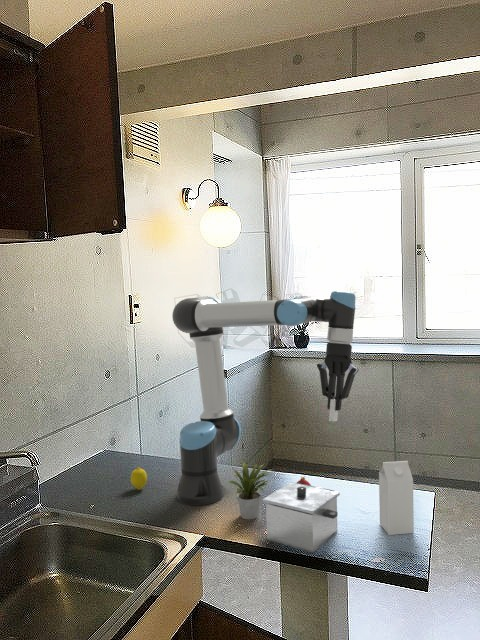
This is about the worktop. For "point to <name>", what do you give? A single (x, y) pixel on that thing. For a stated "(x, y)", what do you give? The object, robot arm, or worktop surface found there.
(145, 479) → the fruit
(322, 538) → the white hinged box
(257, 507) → the house plant
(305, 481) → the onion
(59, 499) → the worktop surface
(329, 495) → the lid
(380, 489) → the milk carton
